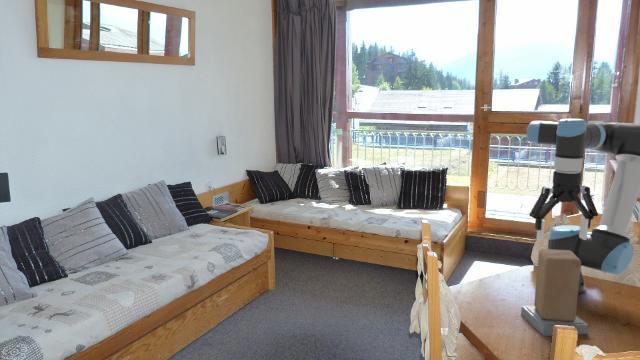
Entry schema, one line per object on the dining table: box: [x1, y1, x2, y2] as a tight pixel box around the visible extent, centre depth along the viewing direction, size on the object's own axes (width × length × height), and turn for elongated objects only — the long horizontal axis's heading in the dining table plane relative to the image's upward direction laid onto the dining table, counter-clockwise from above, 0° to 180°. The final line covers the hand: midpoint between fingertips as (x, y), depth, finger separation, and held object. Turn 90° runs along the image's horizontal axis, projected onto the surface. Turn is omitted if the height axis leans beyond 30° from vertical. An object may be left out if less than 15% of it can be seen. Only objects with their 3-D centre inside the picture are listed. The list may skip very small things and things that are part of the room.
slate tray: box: [520, 305, 589, 337], centre depth 156 cm, size 14×14×3 cm
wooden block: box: [533, 248, 582, 321], centre depth 153 cm, size 10×10×20 cm
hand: (561, 239), depth 151 cm, fingers open, 13 cm apart
